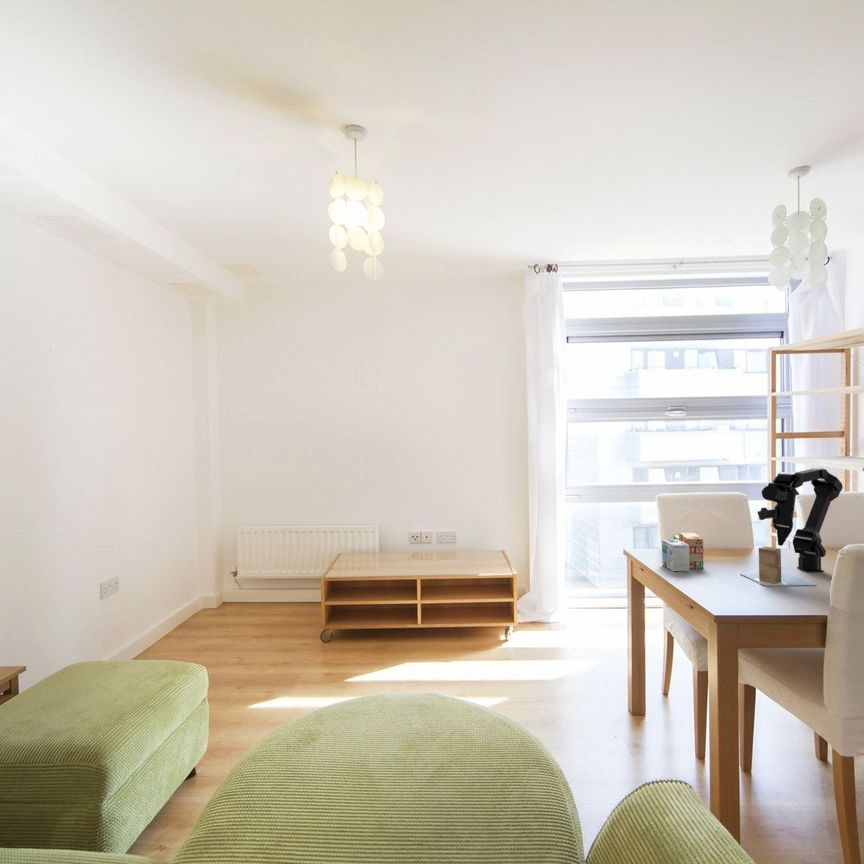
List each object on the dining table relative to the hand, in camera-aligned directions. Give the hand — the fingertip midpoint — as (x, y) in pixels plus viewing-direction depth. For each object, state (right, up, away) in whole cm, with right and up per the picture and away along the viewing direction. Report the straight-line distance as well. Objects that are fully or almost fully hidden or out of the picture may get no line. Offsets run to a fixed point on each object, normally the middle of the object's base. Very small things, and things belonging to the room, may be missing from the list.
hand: (780, 545), depth 192 cm
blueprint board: (-5, -12, -5) cm, 13 cm away
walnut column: (-9, -11, -8) cm, 17 cm away
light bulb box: (-33, -13, +13) cm, 38 cm away
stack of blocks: (-23, -13, +23) cm, 35 cm away
